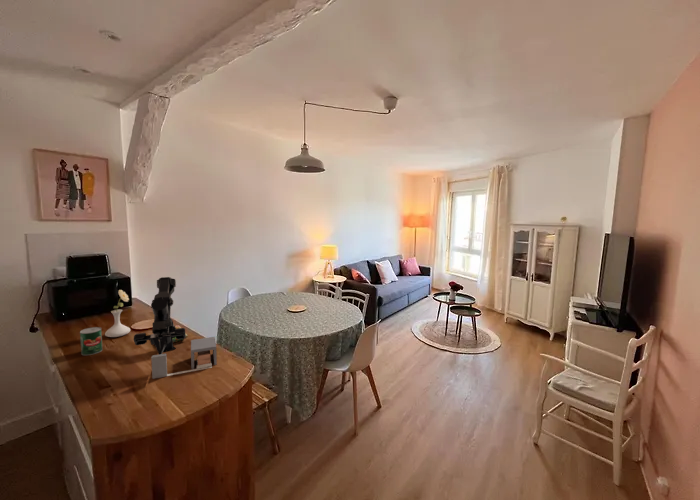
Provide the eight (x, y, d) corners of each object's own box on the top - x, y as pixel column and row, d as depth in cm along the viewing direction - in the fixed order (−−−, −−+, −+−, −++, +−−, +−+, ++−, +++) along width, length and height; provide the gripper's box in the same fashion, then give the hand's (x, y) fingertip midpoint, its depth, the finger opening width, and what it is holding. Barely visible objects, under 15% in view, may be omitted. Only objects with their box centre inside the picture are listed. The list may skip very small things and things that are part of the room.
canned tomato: (90, 356, 141) (88, 333, 140) (76, 354, 143) (75, 332, 142) (106, 349, 149) (105, 327, 148) (94, 347, 151) (92, 326, 149)
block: (197, 362, 136) (197, 351, 135) (210, 359, 138) (209, 349, 138) (197, 366, 132) (197, 356, 131) (210, 364, 134) (210, 354, 133)
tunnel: (191, 359, 140) (191, 340, 139) (215, 355, 145) (214, 336, 144) (191, 371, 130) (190, 350, 129) (216, 367, 134) (216, 346, 133)
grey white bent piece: (155, 370, 129) (154, 348, 128) (211, 360, 139) (210, 340, 138) (152, 381, 121) (151, 357, 120) (212, 369, 131) (211, 348, 130)
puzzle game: (178, 323, 174) (187, 333, 160) (178, 331, 175) (187, 342, 160) (154, 327, 167) (162, 339, 152) (155, 336, 167) (162, 348, 152)
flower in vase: (120, 339, 161) (117, 294, 158) (99, 338, 161) (96, 293, 158) (137, 330, 174) (135, 288, 171) (118, 329, 174) (115, 287, 171)
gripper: (133, 315, 124) (129, 351, 115) (184, 310, 133) (184, 343, 124) (137, 327, 132) (134, 362, 123) (185, 321, 140) (185, 353, 132)
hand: (160, 355), depth 125 cm, fingers closed
